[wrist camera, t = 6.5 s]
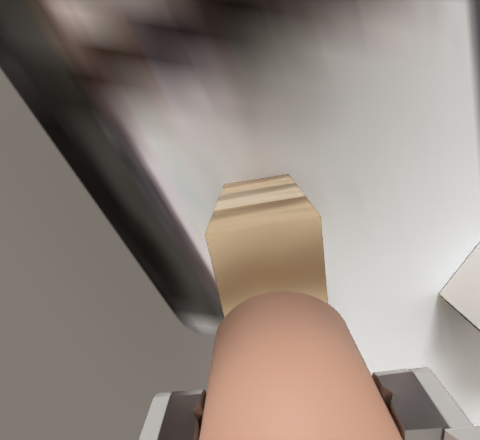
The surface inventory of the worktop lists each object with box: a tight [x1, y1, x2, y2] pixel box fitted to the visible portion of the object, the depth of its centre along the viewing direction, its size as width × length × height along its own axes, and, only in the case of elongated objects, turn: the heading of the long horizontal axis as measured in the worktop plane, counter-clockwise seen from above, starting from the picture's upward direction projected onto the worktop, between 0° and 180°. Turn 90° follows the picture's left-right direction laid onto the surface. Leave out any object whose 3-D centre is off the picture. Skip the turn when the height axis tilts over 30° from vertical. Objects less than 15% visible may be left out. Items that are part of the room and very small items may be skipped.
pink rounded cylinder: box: [199, 291, 403, 440], centre depth 8 cm, size 5×5×5 cm
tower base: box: [220, 174, 295, 195], centre depth 24 cm, size 6×6×4 cm
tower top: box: [205, 196, 328, 317], centre depth 17 cm, size 6×6×4 cm
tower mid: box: [214, 183, 305, 211], centre depth 20 cm, size 6×6×4 cm
